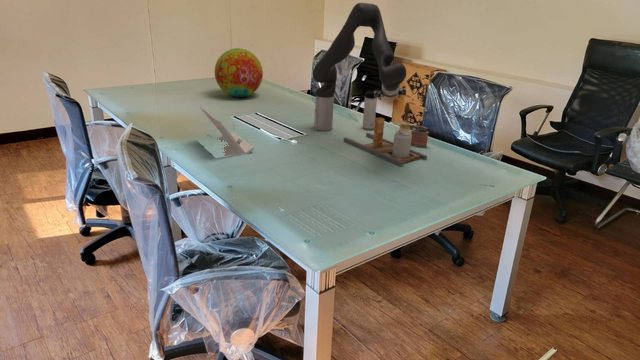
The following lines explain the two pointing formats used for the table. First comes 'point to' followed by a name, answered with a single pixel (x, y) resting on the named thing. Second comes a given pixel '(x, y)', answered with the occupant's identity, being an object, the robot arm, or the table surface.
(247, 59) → the globe
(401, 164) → the rail
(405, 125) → the hand bell
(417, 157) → the brown post on base
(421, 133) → the lighter
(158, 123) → the table surface
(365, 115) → the travel mug
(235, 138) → the tablet stand
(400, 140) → the can
